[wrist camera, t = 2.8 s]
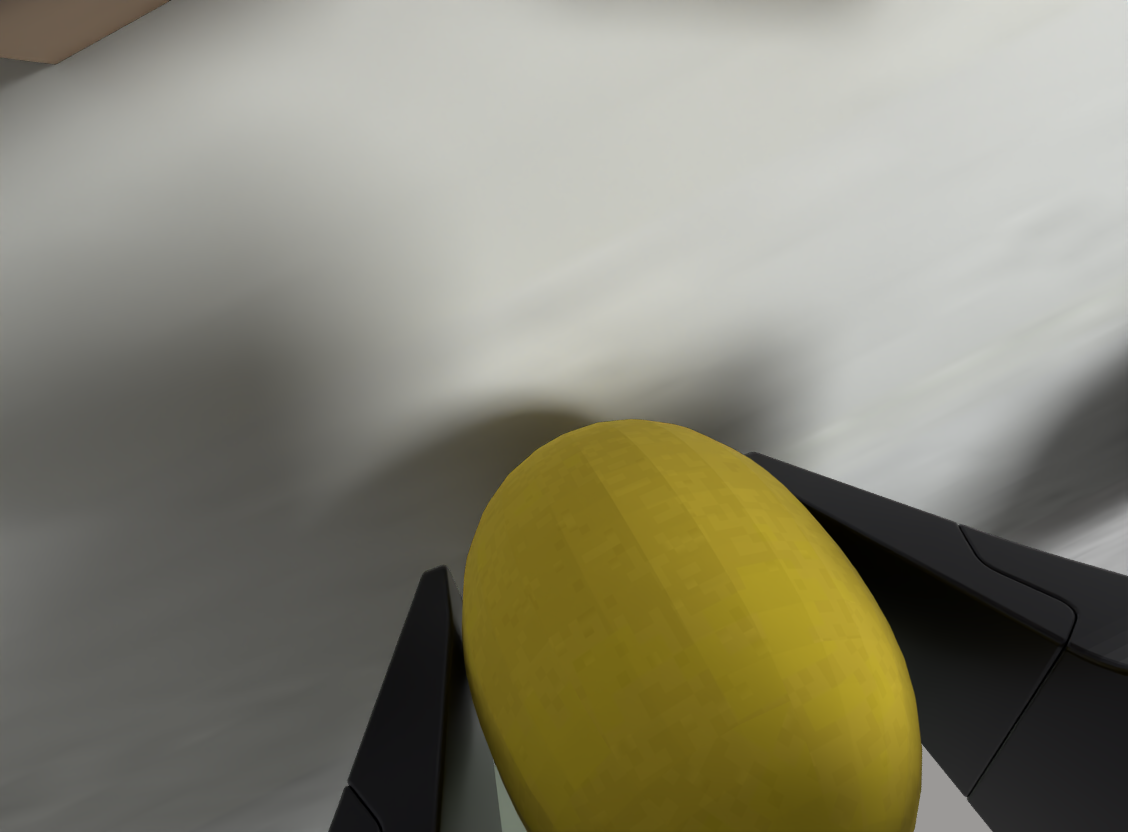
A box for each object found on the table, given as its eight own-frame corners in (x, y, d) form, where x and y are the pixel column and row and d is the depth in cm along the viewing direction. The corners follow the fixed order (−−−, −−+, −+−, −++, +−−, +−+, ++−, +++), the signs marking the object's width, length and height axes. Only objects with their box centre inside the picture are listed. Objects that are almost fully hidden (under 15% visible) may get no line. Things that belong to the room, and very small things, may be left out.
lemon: (580, 589, 13) (791, 1070, 7) (379, 517, 10) (400, 1264, 4) (729, 424, 12) (1172, 813, 5) (550, 288, 9) (1053, 788, 2)
